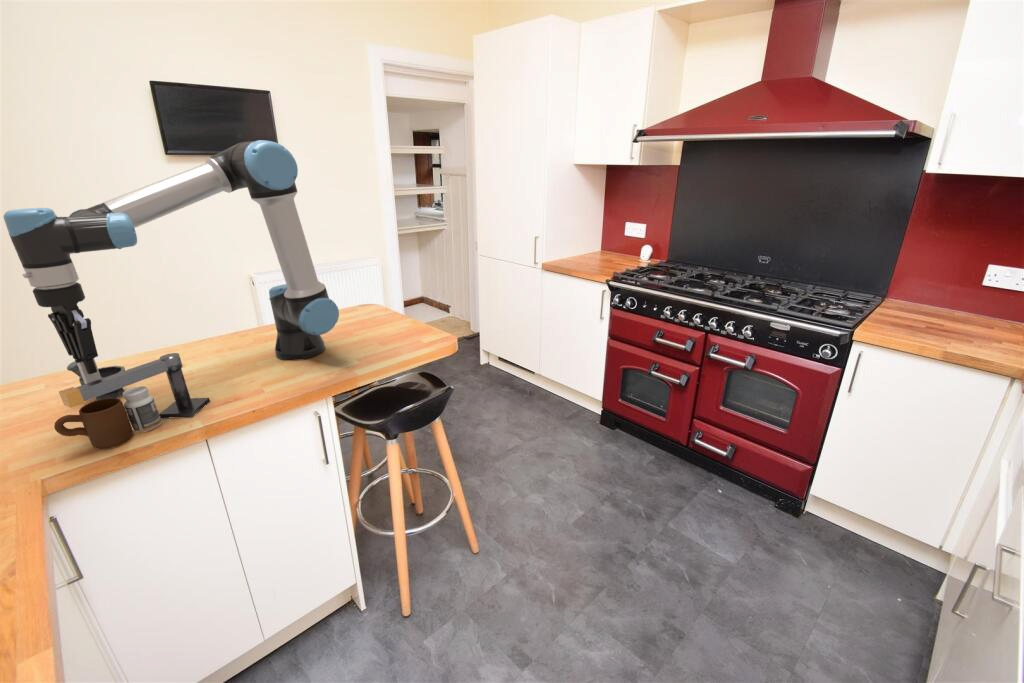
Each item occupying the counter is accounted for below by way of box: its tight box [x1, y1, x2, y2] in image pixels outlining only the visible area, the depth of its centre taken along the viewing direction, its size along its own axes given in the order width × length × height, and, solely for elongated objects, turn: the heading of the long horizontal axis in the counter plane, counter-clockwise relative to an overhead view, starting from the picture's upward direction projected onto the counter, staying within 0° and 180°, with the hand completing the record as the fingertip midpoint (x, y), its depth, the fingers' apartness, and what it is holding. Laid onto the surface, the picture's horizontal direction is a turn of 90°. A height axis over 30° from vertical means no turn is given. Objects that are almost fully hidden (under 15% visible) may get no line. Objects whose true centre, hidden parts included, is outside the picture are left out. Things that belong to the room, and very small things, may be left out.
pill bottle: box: [122, 385, 162, 433], centre depth 111 cm, size 6×6×10 cm
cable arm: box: [58, 352, 183, 409], centre depth 107 cm, size 23×4×3 cm, turn 153°
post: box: [159, 368, 211, 419], centre depth 118 cm, size 8×8×12 cm
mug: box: [53, 397, 134, 450], centre depth 104 cm, size 12×8×9 cm, turn 133°
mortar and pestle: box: [66, 360, 126, 401], centre depth 125 cm, size 11×9×12 cm
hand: (94, 384), depth 106 cm, fingers closed
